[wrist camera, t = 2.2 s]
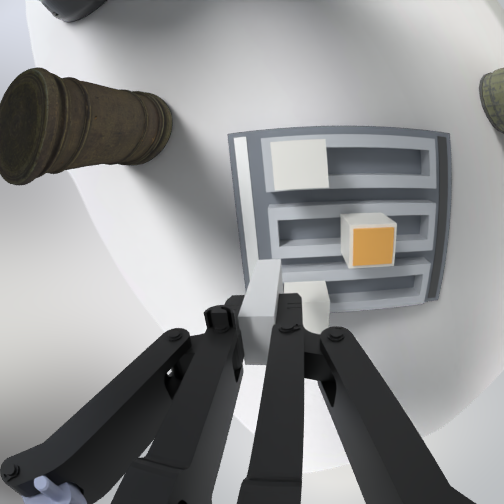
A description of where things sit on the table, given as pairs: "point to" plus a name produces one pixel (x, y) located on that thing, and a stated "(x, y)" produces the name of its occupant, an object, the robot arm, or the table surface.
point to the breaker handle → (368, 240)
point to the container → (75, 126)
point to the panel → (343, 211)
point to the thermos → (493, 97)
